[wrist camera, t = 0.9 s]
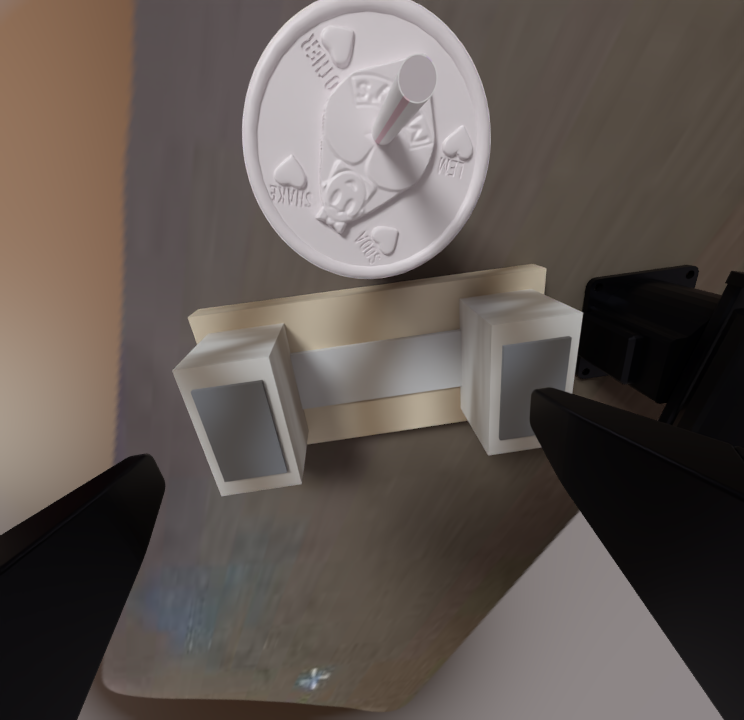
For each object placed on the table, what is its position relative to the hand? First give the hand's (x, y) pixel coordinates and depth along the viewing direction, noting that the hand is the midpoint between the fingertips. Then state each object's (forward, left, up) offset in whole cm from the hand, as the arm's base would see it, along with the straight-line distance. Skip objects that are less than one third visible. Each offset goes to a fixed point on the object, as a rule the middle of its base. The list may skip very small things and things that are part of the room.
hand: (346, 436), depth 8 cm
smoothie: (-1, -6, -13) cm, 15 cm away
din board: (-1, +4, -13) cm, 14 cm away
